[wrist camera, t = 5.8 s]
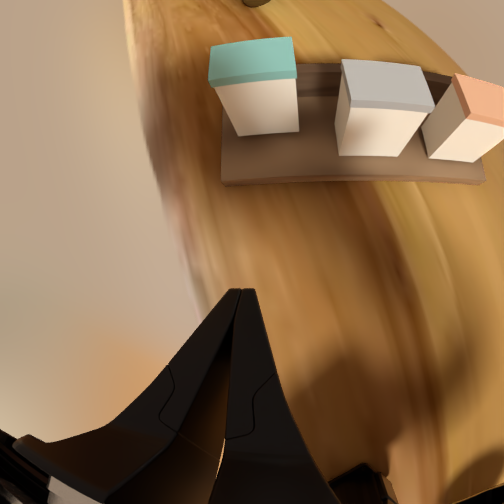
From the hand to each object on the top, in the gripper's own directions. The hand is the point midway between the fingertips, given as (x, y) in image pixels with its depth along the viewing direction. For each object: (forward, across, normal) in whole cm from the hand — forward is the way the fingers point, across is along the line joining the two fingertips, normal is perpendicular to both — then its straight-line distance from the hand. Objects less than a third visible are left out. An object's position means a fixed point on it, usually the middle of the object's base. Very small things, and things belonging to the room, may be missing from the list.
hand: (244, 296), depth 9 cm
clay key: (+16, -16, 0) cm, 23 cm away
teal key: (+18, 0, -1) cm, 18 cm away
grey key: (+16, -8, 0) cm, 18 cm away
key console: (+19, -8, +1) cm, 20 cm away
